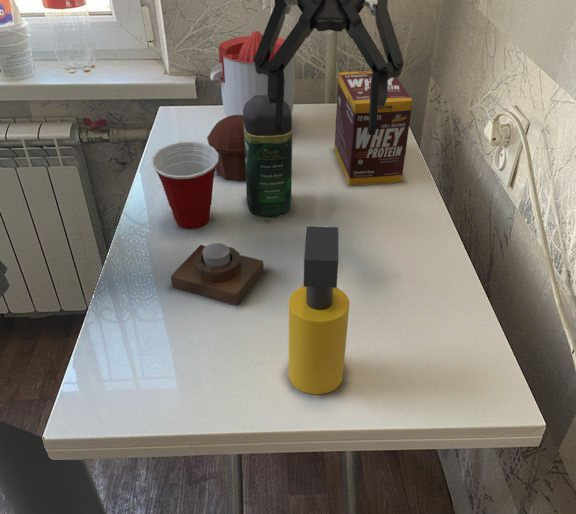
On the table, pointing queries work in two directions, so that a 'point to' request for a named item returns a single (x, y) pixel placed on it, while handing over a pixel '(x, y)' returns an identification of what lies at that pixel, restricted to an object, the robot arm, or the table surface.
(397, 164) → the supplement box
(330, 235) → the spray bottle
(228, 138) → the muffin
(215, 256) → the button
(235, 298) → the button box
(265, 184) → the coffee jar
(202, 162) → the plastic cup
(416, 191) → the table surface
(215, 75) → the citrus juicer
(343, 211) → the table surface
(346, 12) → the robot arm
